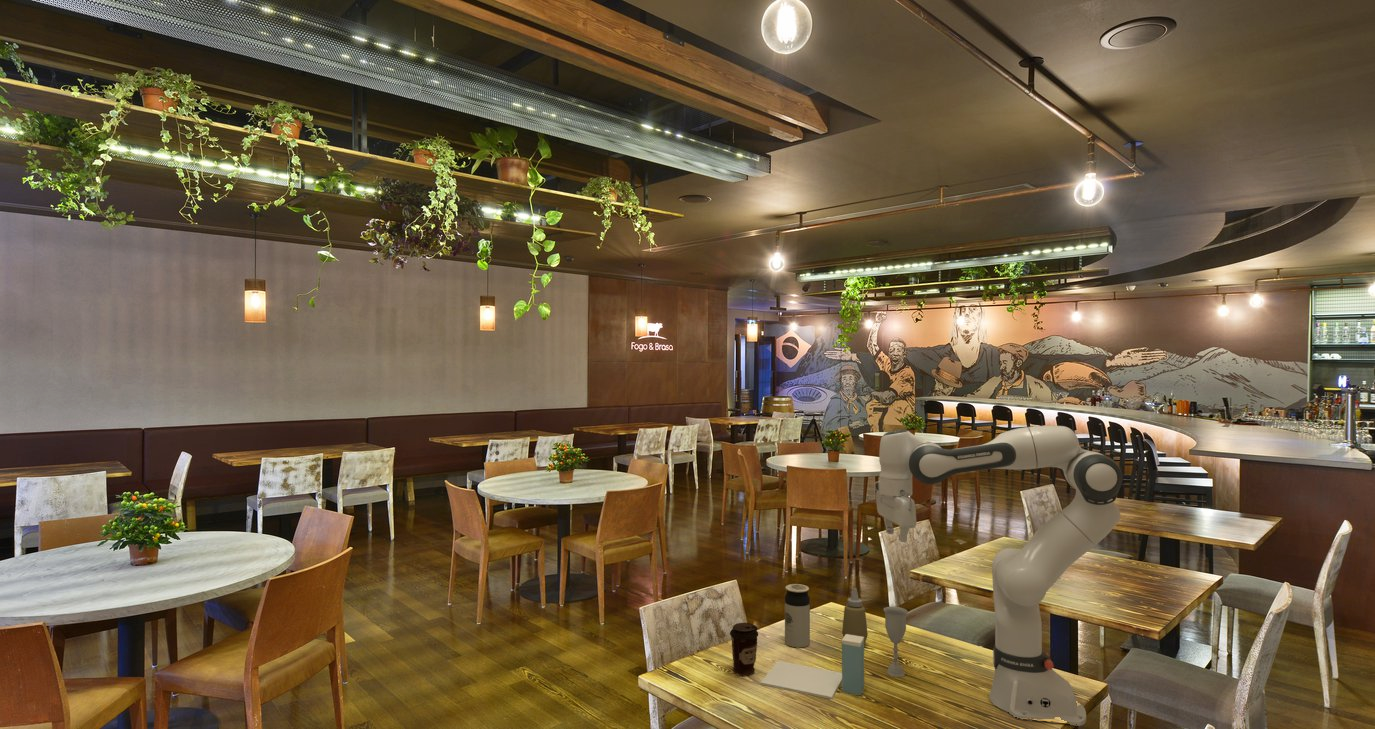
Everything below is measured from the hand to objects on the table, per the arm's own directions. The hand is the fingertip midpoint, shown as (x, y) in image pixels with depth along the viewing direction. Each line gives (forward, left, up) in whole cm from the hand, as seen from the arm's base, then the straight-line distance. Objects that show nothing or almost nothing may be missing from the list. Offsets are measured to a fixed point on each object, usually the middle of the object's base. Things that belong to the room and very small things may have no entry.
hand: (896, 537), depth 189 cm
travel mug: (+33, -17, -41) cm, 56 cm away
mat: (+24, +8, -41) cm, 48 cm away
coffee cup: (+41, +10, -41) cm, 59 cm away
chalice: (+1, -8, -41) cm, 42 cm away
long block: (+10, +8, -41) cm, 43 cm away
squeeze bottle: (+16, -24, -41) cm, 51 cm away
